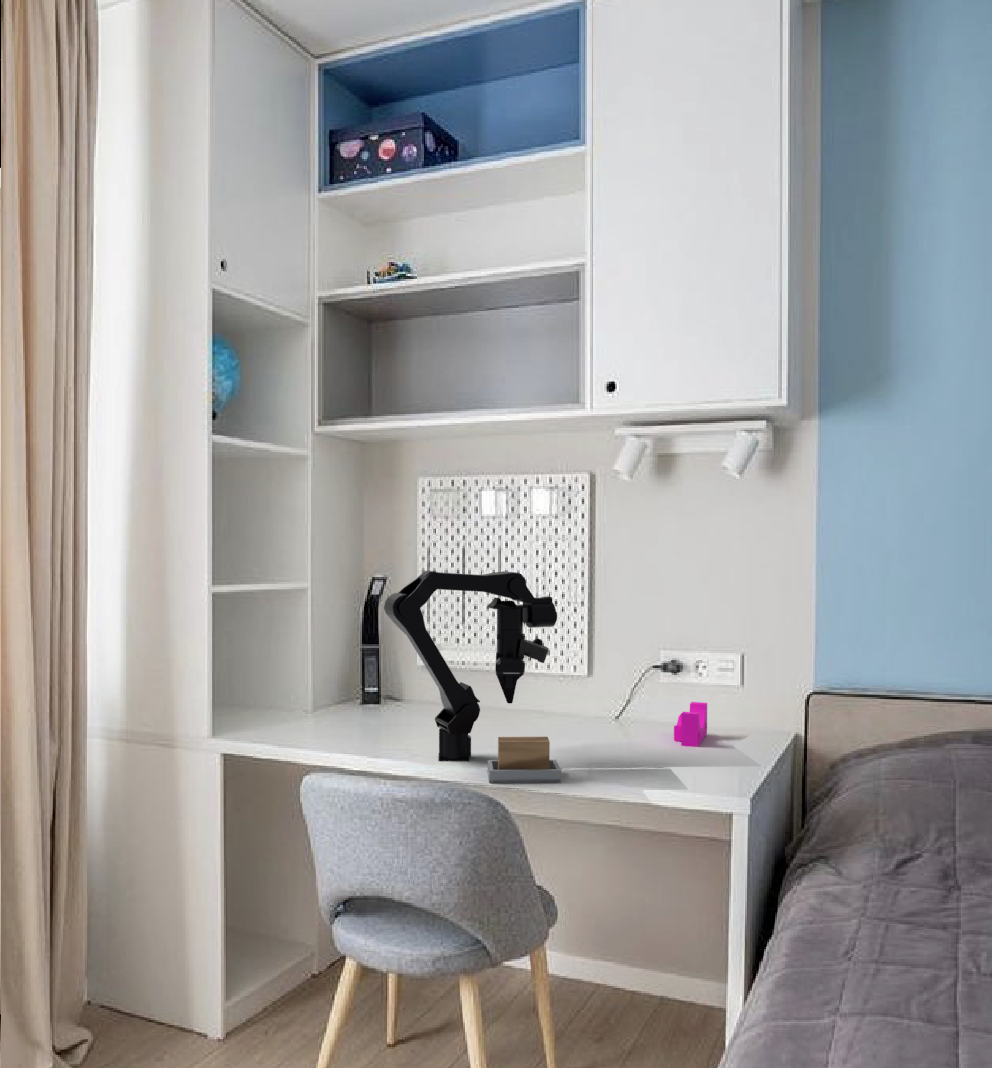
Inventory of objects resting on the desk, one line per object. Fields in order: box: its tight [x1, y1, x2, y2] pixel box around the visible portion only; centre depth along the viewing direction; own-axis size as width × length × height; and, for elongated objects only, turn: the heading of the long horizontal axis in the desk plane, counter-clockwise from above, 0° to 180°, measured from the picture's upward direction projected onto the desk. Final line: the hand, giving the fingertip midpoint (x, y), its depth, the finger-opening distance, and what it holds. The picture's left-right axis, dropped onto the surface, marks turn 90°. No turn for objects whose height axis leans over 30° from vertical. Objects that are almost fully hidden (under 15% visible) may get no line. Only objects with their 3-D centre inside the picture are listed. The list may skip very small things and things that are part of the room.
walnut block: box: [497, 736, 551, 770], centre depth 197 cm, size 4×10×7 cm, turn 92°
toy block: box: [673, 701, 708, 748], centre depth 233 cm, size 15×6×8 cm, turn 160°
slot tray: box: [487, 759, 562, 784], centre depth 197 cm, size 14×9×2 cm, turn 93°
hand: (509, 699), depth 216 cm, fingers open, 9 cm apart
